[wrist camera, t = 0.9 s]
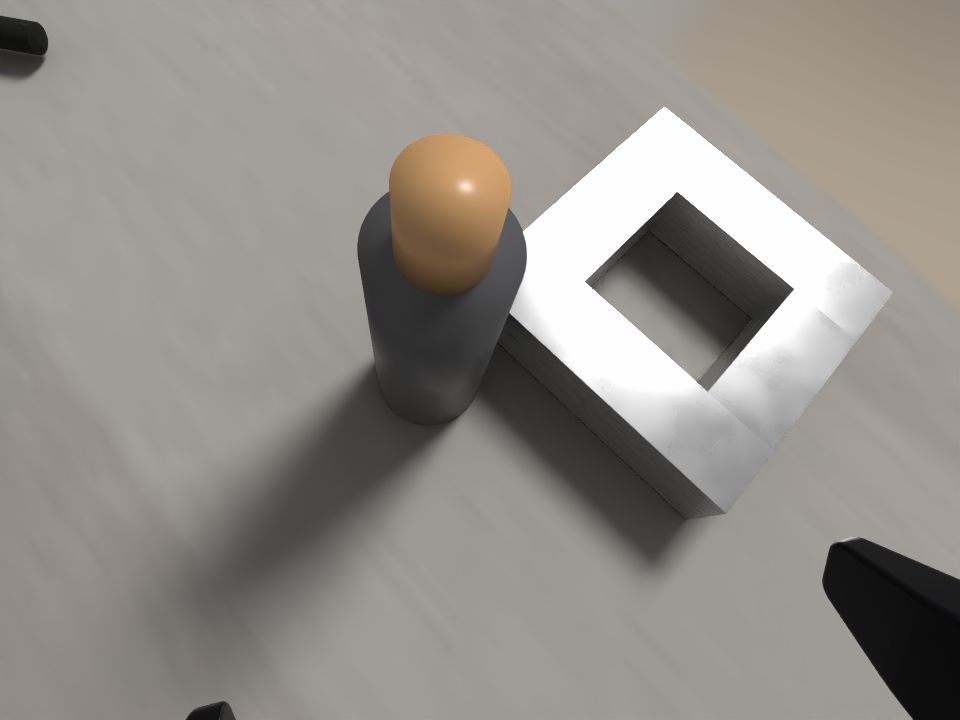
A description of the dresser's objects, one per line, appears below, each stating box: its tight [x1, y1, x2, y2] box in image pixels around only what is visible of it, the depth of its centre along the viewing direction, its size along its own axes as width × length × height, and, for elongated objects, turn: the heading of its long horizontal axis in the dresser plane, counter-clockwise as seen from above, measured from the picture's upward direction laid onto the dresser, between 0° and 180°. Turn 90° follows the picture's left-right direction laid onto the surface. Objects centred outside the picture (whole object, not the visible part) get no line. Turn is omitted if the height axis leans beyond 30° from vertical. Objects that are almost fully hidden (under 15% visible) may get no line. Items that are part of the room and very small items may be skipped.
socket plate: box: [498, 107, 893, 520], centre depth 24 cm, size 12×12×3 cm
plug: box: [357, 134, 527, 425], centre depth 17 cm, size 4×4×12 cm
